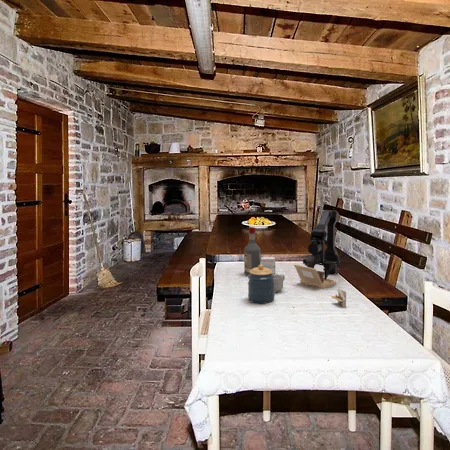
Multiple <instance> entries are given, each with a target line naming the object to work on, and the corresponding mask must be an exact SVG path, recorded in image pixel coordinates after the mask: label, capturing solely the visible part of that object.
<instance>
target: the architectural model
mask: <svg viewBox="0 0 450 450" xmlns="http://www.w3.org/2000/svg"><path fill="white" fill-rule="evenodd" d="M337 292H338V294H337V293H335V295H331V296H330V298H332V299H334V300H335V301H337V302H338V304H339V306H340V307H342V308H346V307H347V291H345V290H343V289H341V288H338V289H337Z"/></svg>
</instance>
